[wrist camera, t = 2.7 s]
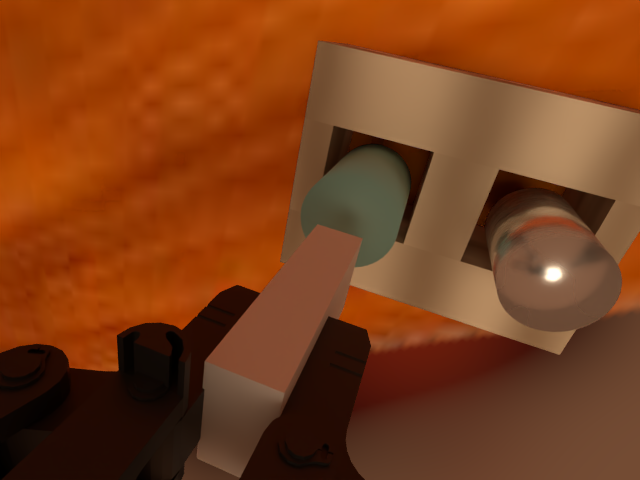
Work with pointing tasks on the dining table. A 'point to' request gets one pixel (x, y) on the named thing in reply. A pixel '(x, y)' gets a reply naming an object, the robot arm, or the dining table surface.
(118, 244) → the dining table surface
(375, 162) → the teal peg
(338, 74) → the socket block
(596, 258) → the steel peg
